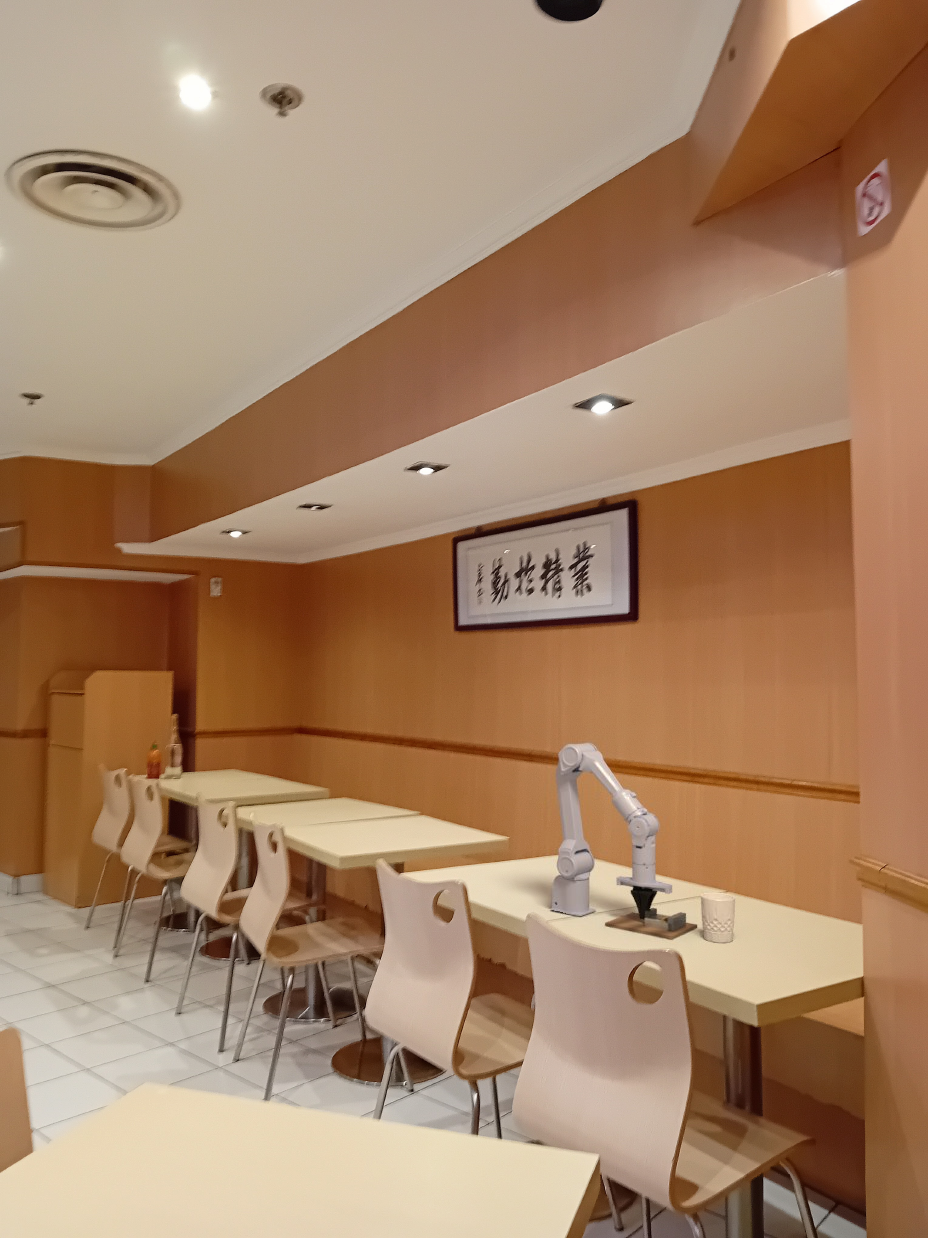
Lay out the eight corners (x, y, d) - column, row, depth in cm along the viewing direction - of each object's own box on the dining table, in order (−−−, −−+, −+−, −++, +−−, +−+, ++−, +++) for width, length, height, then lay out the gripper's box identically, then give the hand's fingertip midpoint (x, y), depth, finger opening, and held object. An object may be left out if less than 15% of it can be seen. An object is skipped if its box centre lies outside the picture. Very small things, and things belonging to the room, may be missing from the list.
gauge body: (644, 926, 221) (644, 913, 222) (657, 921, 227) (657, 908, 227) (673, 932, 217) (673, 918, 217) (686, 926, 222) (686, 913, 222)
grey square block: (641, 925, 222) (641, 912, 222) (652, 921, 226) (652, 907, 226) (664, 930, 218) (664, 916, 218) (675, 925, 222) (675, 912, 222)
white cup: (736, 945, 209) (736, 901, 210) (701, 942, 211) (701, 899, 212) (733, 936, 217) (733, 893, 218) (700, 933, 219) (699, 891, 219)
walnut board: (605, 926, 224) (605, 922, 224) (632, 915, 235) (632, 912, 235) (671, 940, 213) (671, 936, 213) (697, 928, 224) (697, 924, 224)
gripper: (677, 864, 225) (677, 920, 224) (626, 857, 234) (626, 910, 233) (664, 869, 219) (664, 926, 219) (612, 861, 229) (612, 915, 228)
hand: (643, 918), depth 225 cm, fingers closed
